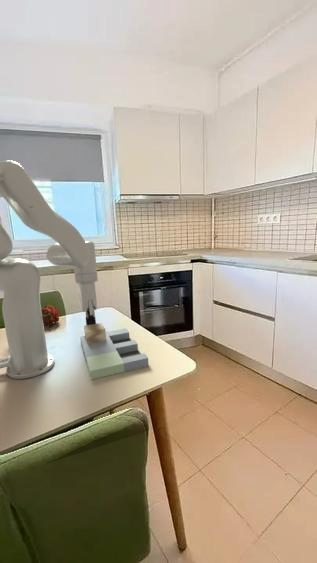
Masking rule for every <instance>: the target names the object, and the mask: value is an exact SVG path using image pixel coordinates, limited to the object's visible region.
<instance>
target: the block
mask: <svg viewBox="0 0 317 563" xmlns="http://www.w3.org/2000/svg"><path fill="white" fill-rule="evenodd" d="M83 330H84V336H85V338H86V341H87V344H90V343H95V342H100V341H105V340H106V332H107V331H106V328H105V326H104V324H103V322H98V323H96V324H92V325H84V326H83Z"/></svg>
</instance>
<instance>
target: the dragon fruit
mask: <svg viewBox="0 0 317 563" xmlns="http://www.w3.org/2000/svg"><path fill="white" fill-rule="evenodd" d="M41 312H42V318H43V325H46V326H52V325H54V323H55V324H56V323H58V322H59V321H60V310H59V309H58V308H57V307H56V306H53V305H52V304H47V305H46V306H44V307H41Z"/></svg>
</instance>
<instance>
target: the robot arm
mask: <svg viewBox="0 0 317 563" xmlns="http://www.w3.org/2000/svg"><path fill="white" fill-rule="evenodd" d="M0 198H3V199H4V200H5V201H6V202H7V203H8V205H9V206H10V208H11V209H12V210H13V212H14V213H15V214H16V215H17V217H18V218H19V219H20V221H21V222H22V223H23V224H24V225H25V227H27V228H29V229H31V230H33V231H35V232H37V233H40V234H43V235H45V236H47V237H49V238H51V239H52V240H53V241H55V243H53V244H51V245H50V246H49V248H48V249H47V251H46V258H47V260H48V261H49V263H50V264H52V265H53V266H57V267H64V268H65V267H69V268H73V271H74V272H73V273H74V281H75V284H78V295H79V306H80V310H81V311H82V312H83V313H85V323H86V325H92V324H97V321H96V315H95V313H96V312H95V311H97V309H98V305H97V304H98V302H97V292H96V291H97V290H96V282H98V281H99V279H98V278H99V277H98V271H97V270H98V269H97V258H96V247H95V243H94V242H93V241H92V240H85V239H84V237H83V235H82V234H81V233H80V231H79V230H78V228H76V227H75V226H74V225H73V224H72V223H71V222H69V221H68V220H67V219H65V218H64V217H63V216H61V215H60V214H59V213H57V212H56V211H55V210H53V209H52V208H51V206H50V205H49V203H48V202H47V200H46V199H45V198H44V195H43V194H42V193H41V191H40V190H39V189H38V187H37V186H36V184H35V182H34V181H33V179H32V178H31V177H30V175H29V174H28V172H27V171H26V169H25V168H24V167H23V166H22V165H21V164H20V163H18V162H17V161H13V160H0ZM10 236H11V235H9V233H8V232H7V231H6V229H5V228H4V227H3V225H2V224H1V223H0V292H1V293H3V299H2V304H1V305H2V306H1V310H2V318H3V324H4V327H5V328H4V329H5V332H6V333H5V335H6V340H7V346H8V351H9V355H8V356H6V357H4V358H0V369H3V368H6V369H5V370H6V375H7V377H9V378H11V379H16V380H17V379H19V380H21V379H22V380H24V379H29V378H34V377H37V376H39V375H42V374H44V373H45V372H47V371H49V370H51V368H53V366H54V364H55V358H54V356H53V355H52V354H49V352H48V348H47V341H46V334H45V326H44V325H45V324H43V318H42V312H41V309H42V306H41V274H40V270H39V269H38V267H37V265H35V263H33V262H31V261H30V260H28V259H26V258H25V259H23V258H19V257H18V258H16V257H9V256H10V255H11V253H12V252H13V241H12V238H11V237H10ZM86 325H85V326H86Z"/></svg>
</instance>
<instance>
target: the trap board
mask: <svg viewBox="0 0 317 563" xmlns="http://www.w3.org/2000/svg"><path fill="white" fill-rule="evenodd" d="M105 332H106V340H105V341H100V342H95V343H90V344H87V341H86V338H85V335H83V336H79V338H80V346H81V349H82V353H83V356H84V359H85V363H86V366H87V370H88V374H89V377H90V380H95V379H99V378H104V377H108V376H112V375H116V374H121V373H125V372H129V371H133V370H137V369H142V368H145V367H149V357H148V356H147V354H146V353H145V352H144V353H141V352H140V351H139V345H138V344H139V343H138V342H137V341H136V340H135V339H133V340H132V339H131V338H130V331H129V330H128V329H127V327H125V328H120V329H116V330H115V329H114V330H110V331H105Z"/></svg>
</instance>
